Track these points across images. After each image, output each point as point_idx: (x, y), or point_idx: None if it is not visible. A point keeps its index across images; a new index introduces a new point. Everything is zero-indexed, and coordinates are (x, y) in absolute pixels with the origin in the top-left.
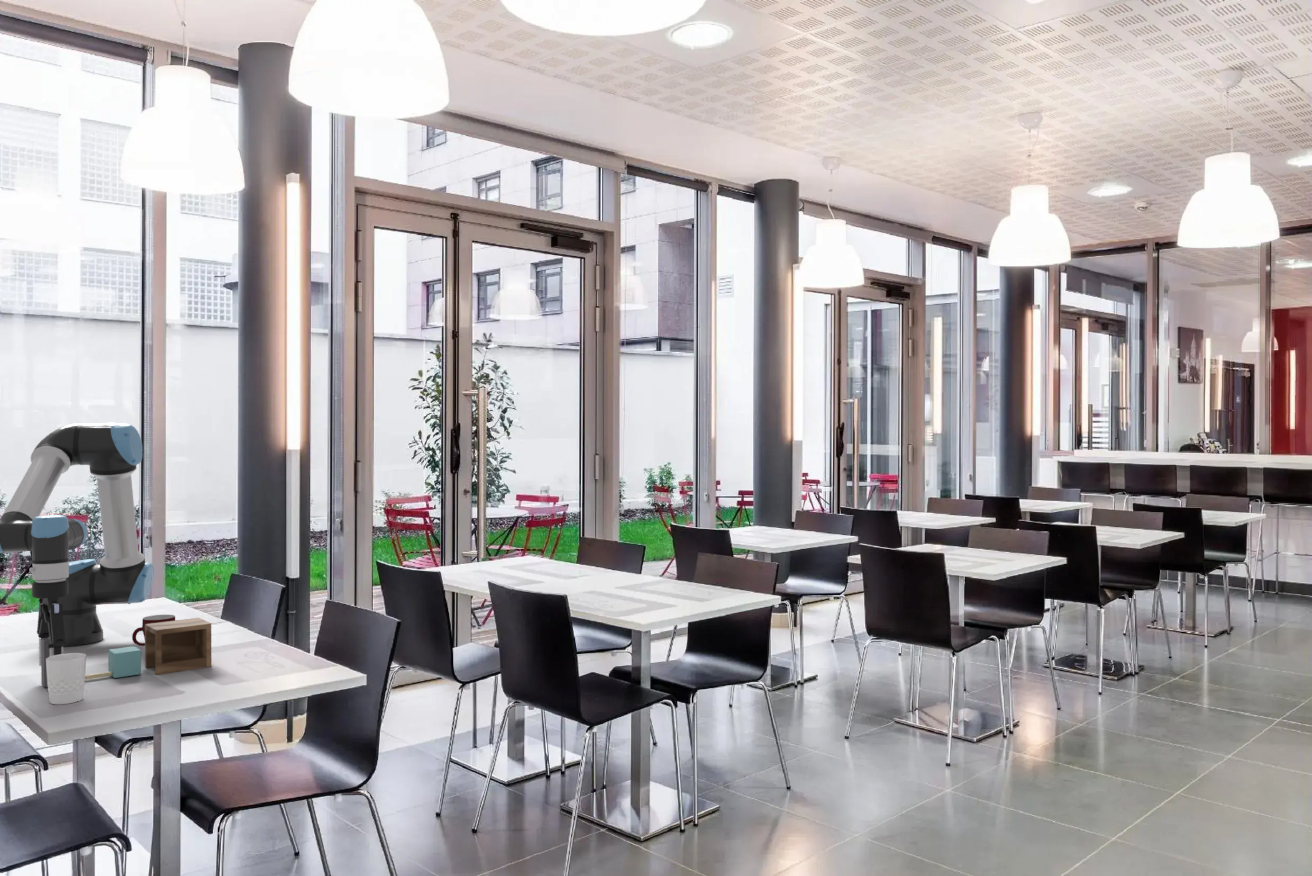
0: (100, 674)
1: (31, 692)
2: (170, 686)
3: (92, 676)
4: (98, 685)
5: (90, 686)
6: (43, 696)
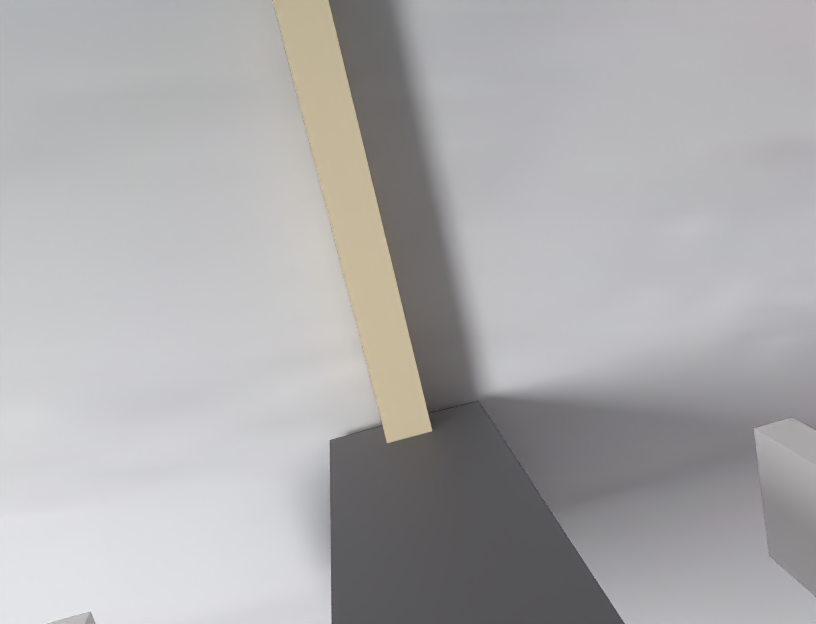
0: (326, 6)
1: None
2: None
3: (351, 103)
4: (633, 43)
5: (635, 123)
6: None
